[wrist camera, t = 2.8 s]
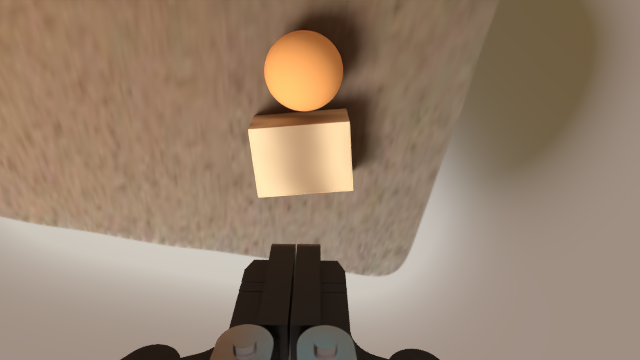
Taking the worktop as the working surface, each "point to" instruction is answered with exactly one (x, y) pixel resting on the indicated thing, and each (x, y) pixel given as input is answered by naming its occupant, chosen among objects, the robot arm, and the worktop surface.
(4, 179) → the worktop surface
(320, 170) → the block
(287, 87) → the ball
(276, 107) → the worktop surface
